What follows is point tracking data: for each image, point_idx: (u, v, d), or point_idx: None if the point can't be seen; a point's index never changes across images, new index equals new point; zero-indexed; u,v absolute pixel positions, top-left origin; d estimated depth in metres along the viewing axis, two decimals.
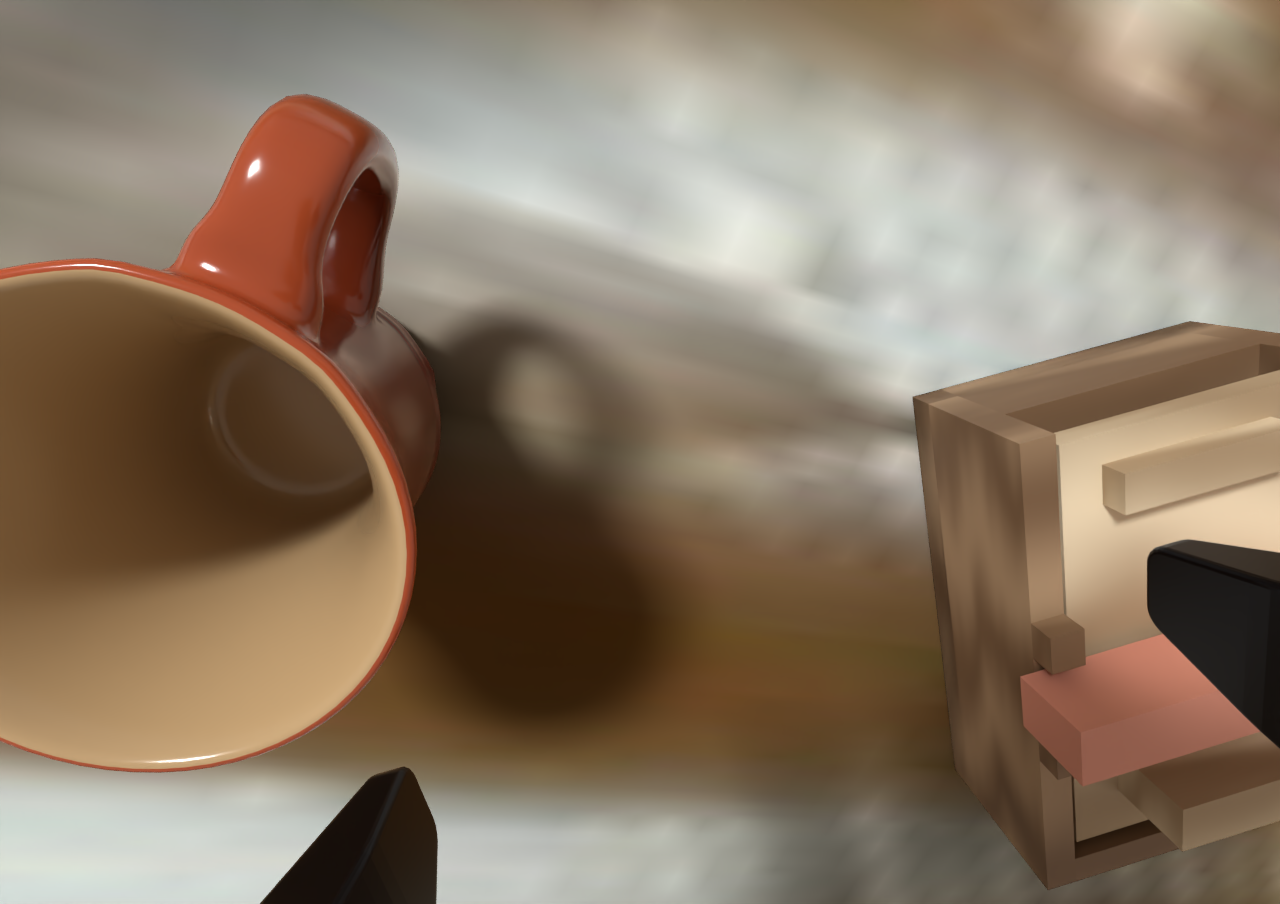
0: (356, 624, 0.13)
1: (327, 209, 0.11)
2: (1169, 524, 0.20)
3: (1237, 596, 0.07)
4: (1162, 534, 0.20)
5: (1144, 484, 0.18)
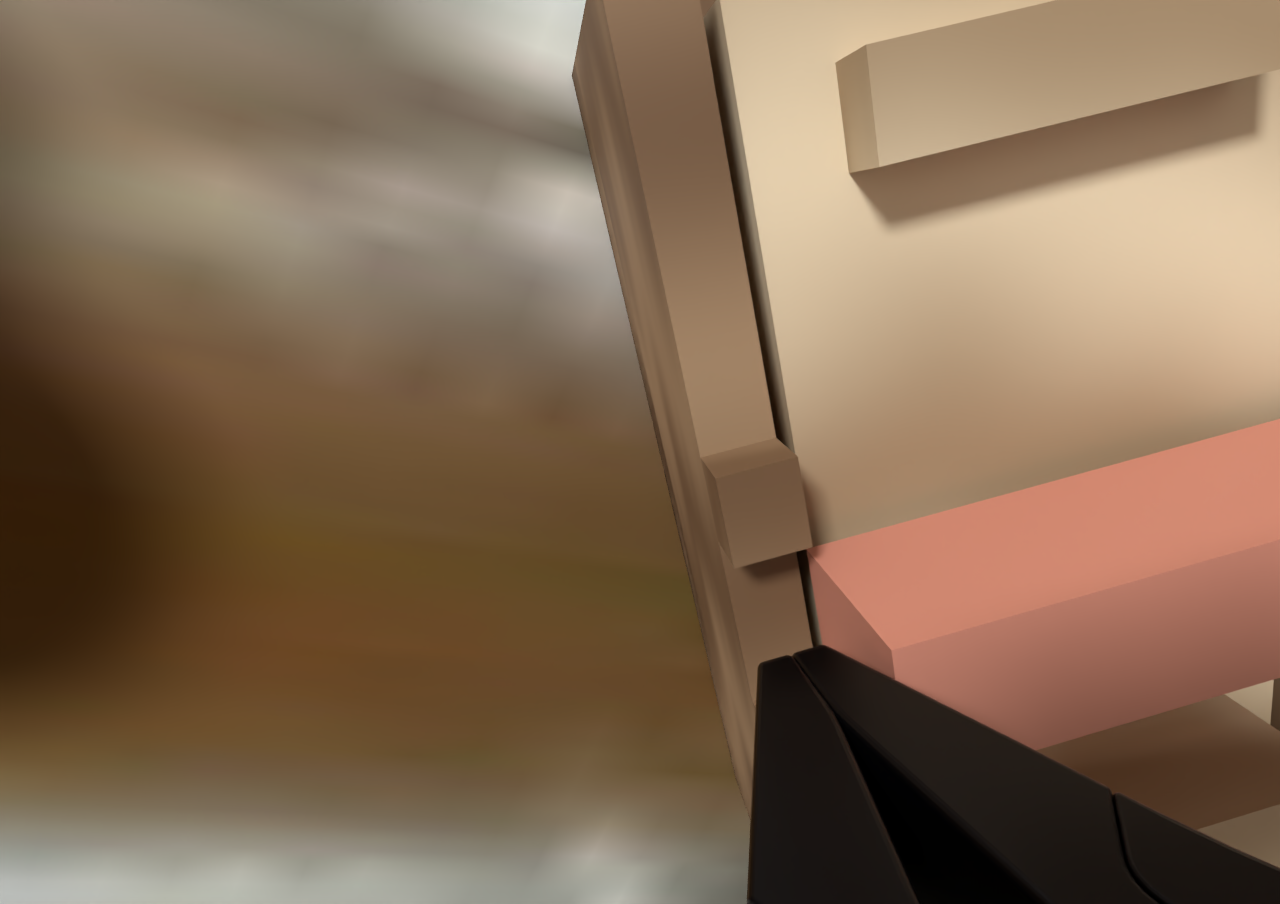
0: None
1: None
2: (1011, 237, 0.09)
3: None
4: (997, 262, 0.09)
5: (920, 80, 0.07)
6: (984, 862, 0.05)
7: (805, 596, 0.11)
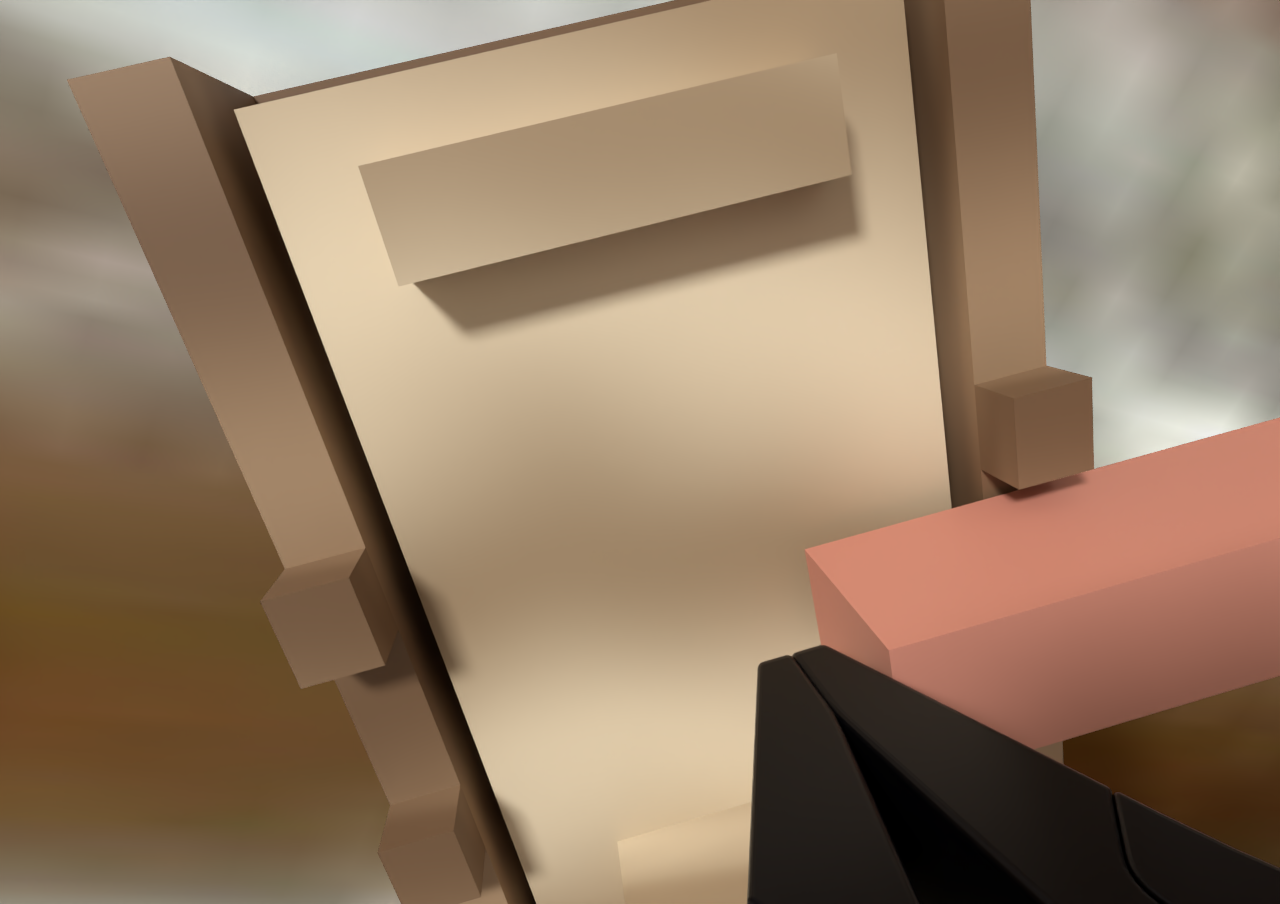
0: None
1: None
2: (605, 341, 0.09)
3: None
4: (594, 366, 0.09)
5: (426, 200, 0.07)
6: (984, 861, 0.05)
7: None
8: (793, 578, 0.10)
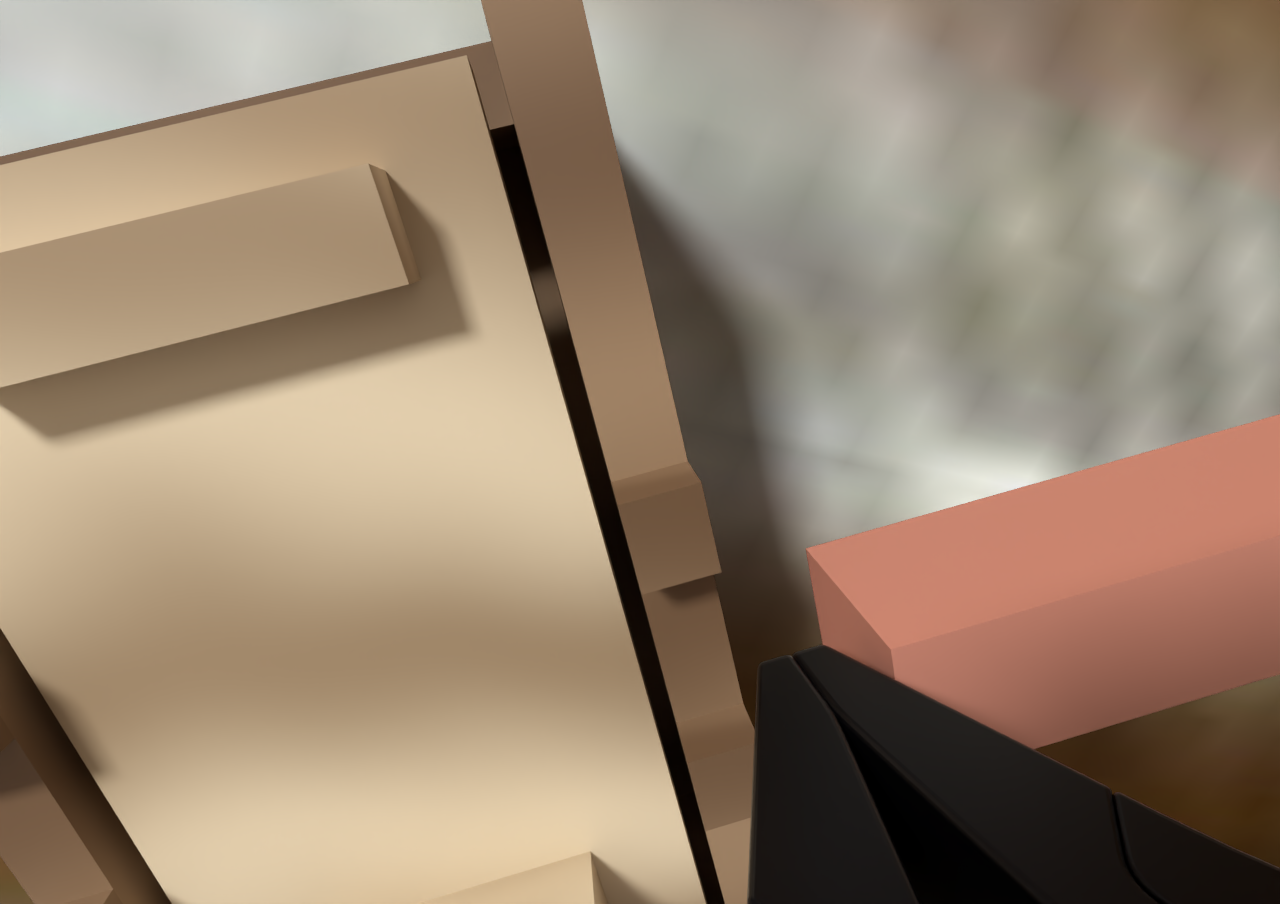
0: None
1: None
2: (207, 445, 0.08)
3: None
4: (199, 469, 0.08)
5: None
6: (984, 862, 0.05)
7: None
8: (456, 673, 0.10)
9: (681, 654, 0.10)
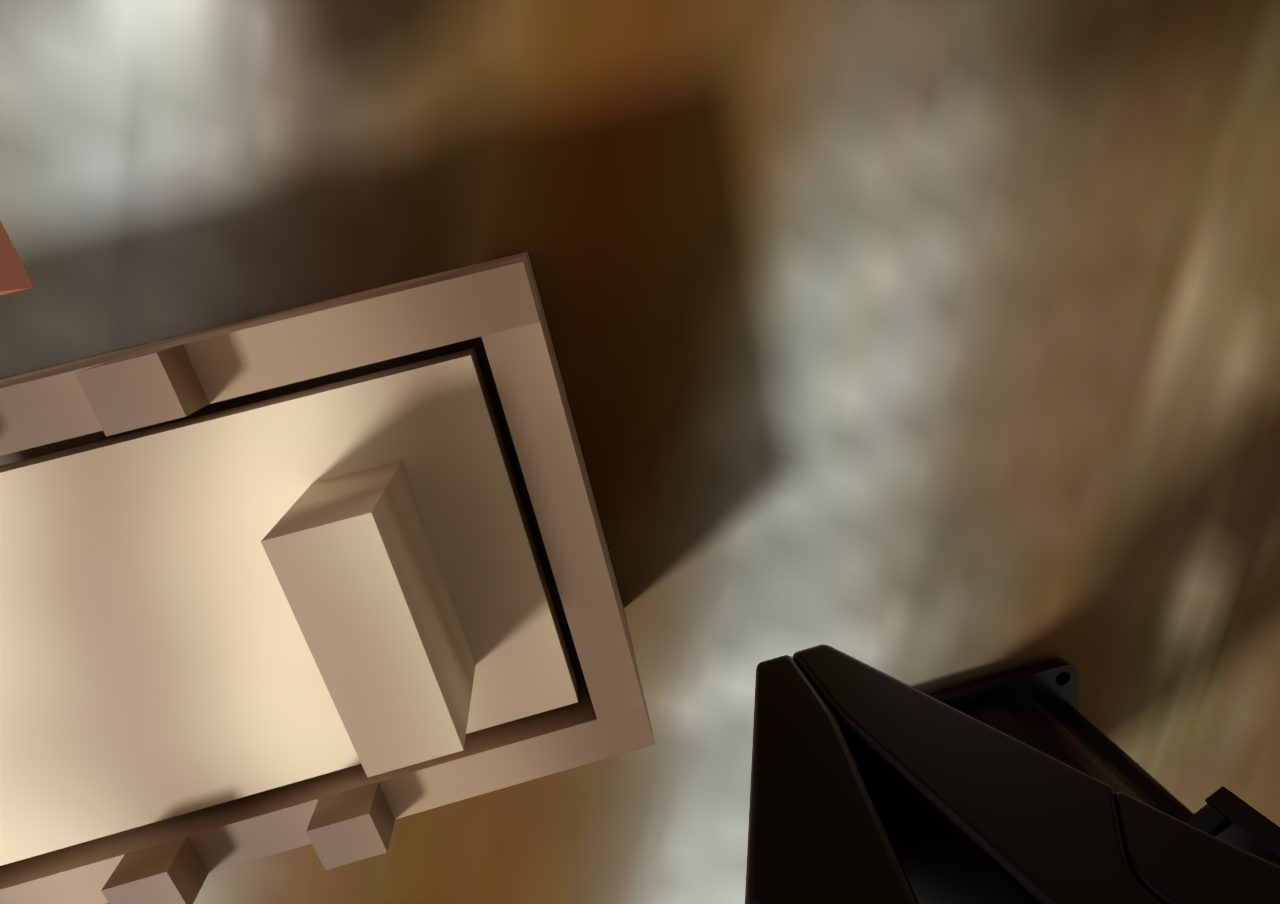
0: None
1: None
2: None
3: None
4: None
5: None
6: (986, 861, 0.05)
7: None
8: (123, 585, 0.12)
9: (57, 420, 0.11)
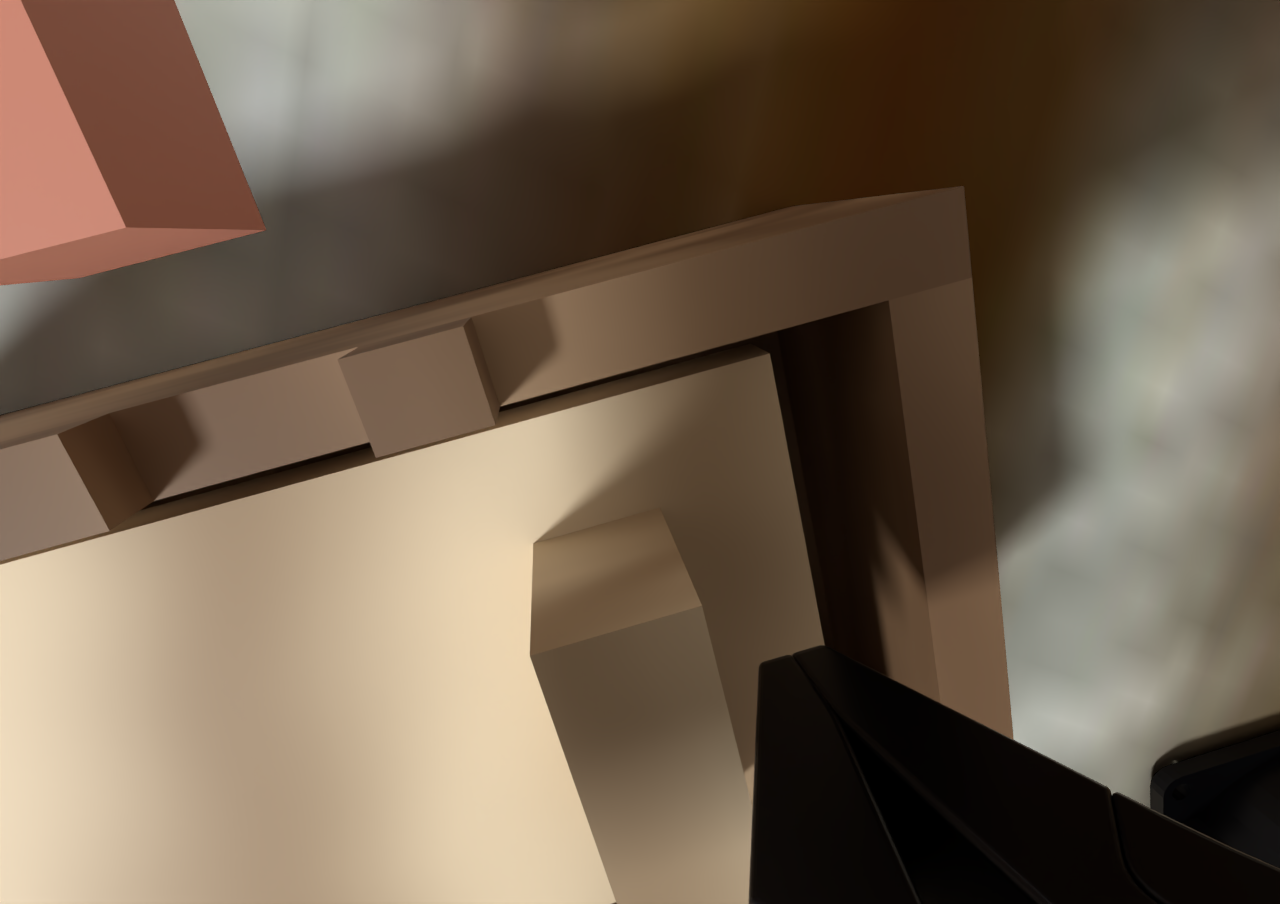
0: None
1: None
2: (20, 890, 0.09)
3: None
4: (49, 895, 0.09)
5: None
6: (983, 862, 0.05)
7: None
8: (264, 691, 0.09)
9: (282, 435, 0.07)
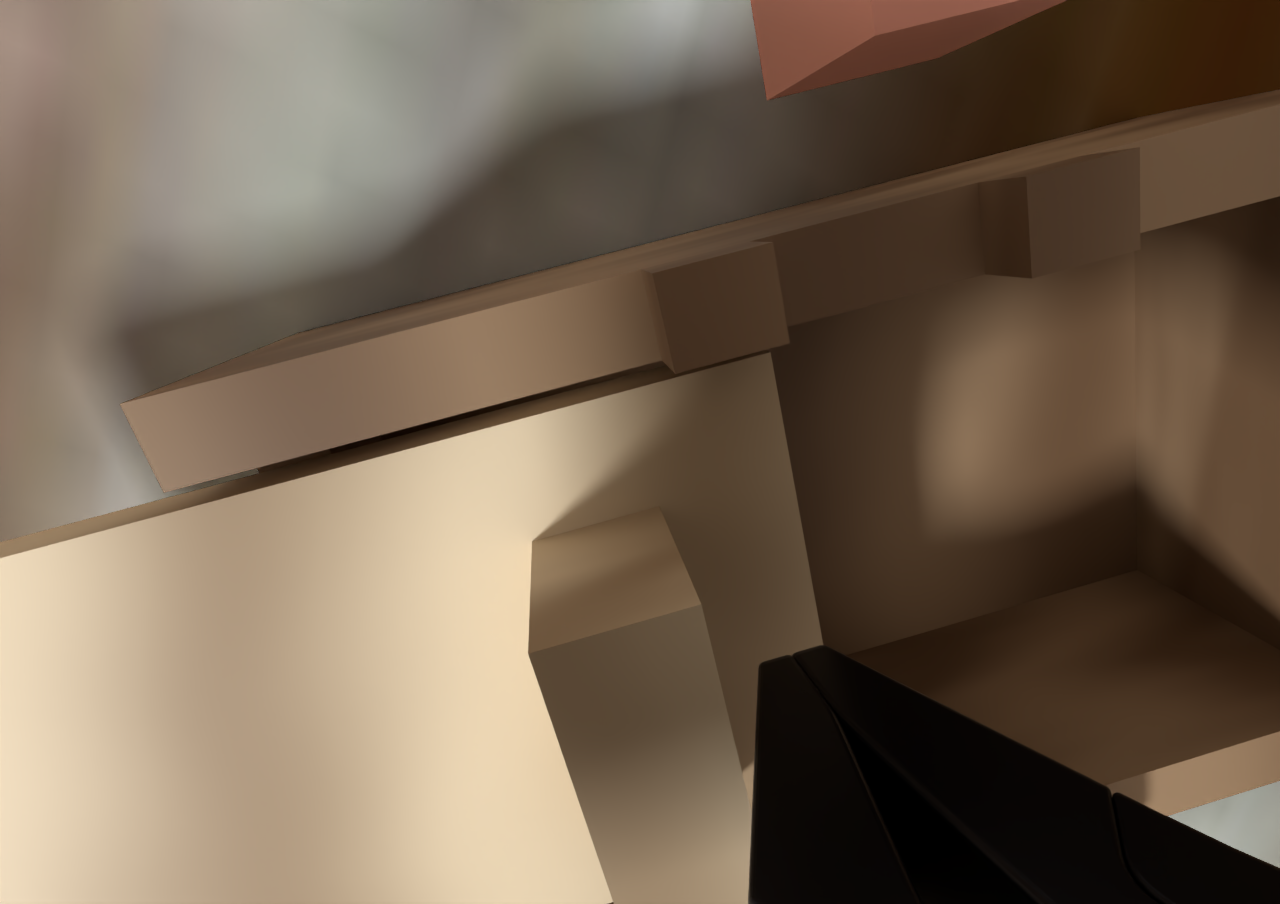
0: None
1: None
2: (14, 887, 0.09)
3: None
4: (42, 892, 0.09)
5: None
6: (984, 862, 0.05)
7: None
8: (261, 689, 0.09)
9: (892, 269, 0.08)
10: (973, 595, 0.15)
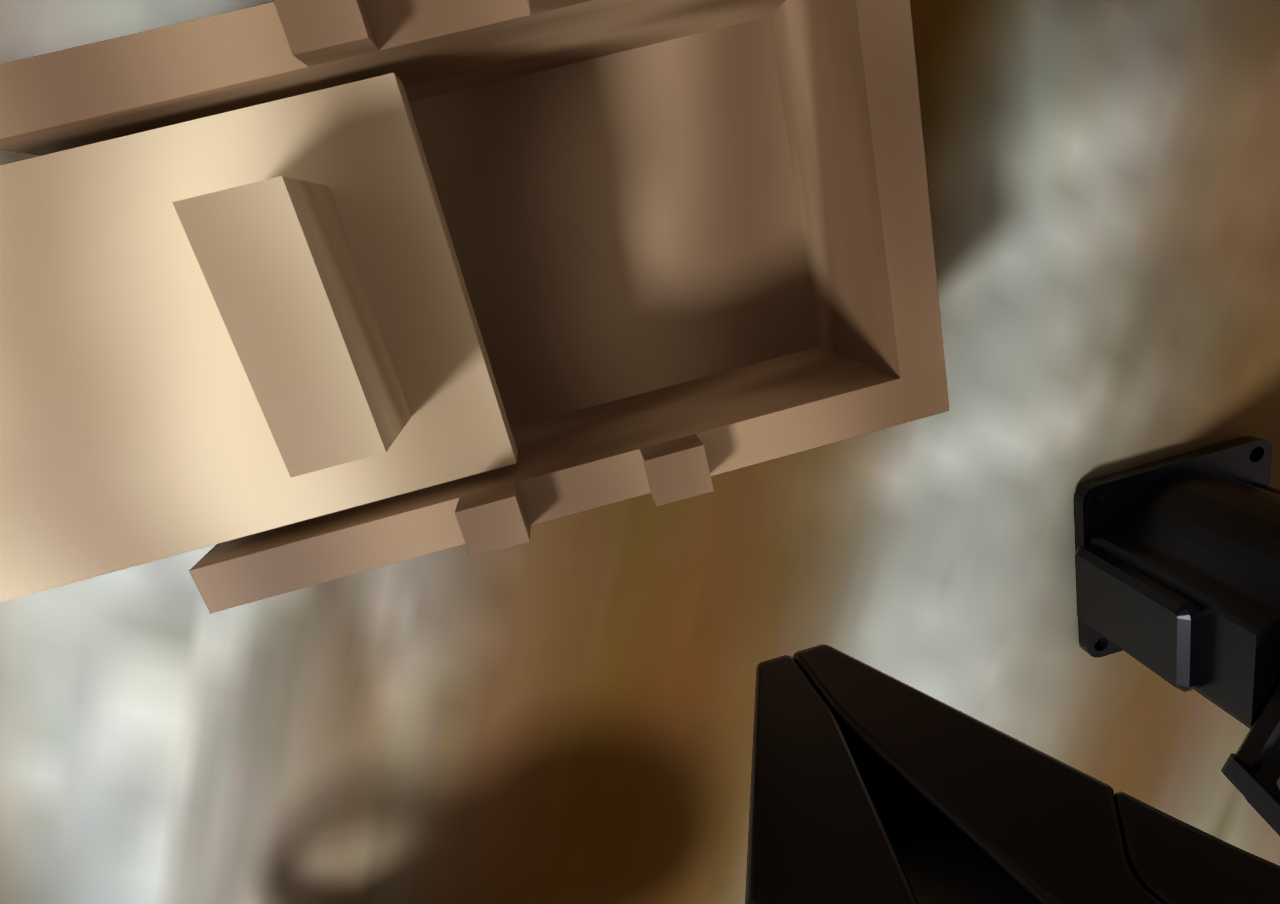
0: None
1: None
2: None
3: None
4: None
5: None
6: (986, 861, 0.05)
7: None
8: (56, 311, 0.13)
9: (463, 7, 0.12)
10: (684, 361, 0.19)
